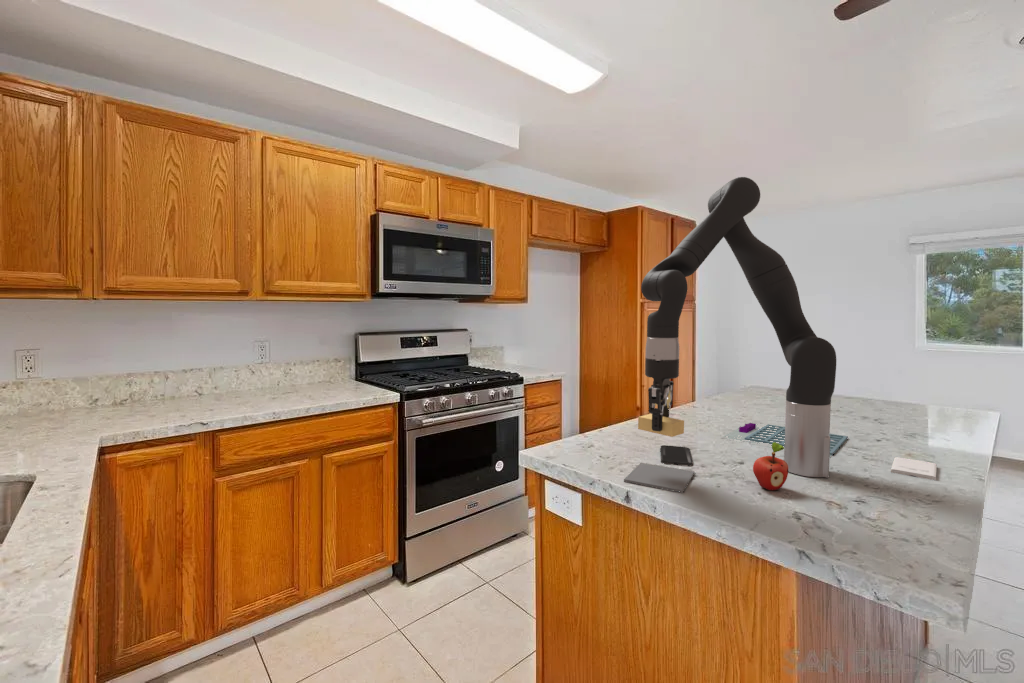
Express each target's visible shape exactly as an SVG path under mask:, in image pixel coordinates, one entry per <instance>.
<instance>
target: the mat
mask: <svg viewBox="0 0 1024 683" xmlns="http://www.w3.org/2000/svg"><path fill="white" fill-rule="evenodd" d="M694 473H695V471H693V470H689V469H688V470H687V469H683V468H675V467H670V466H665V465H660V464H659V465H658V464H652V463H647V462H646V463H645V462H640V463H639V464H638V465H637V466H636V467H635V468H634V469H633V470H632V471H631V472H629V474H628V475H627V476H626V477H624V479H623V482H624V483H628V482H632V483H631V484H633V483H637V484H636V485H638V484H642V485H641V486H643V485H646V486H645V487H649V486H653V487H652V488H654V487H657V488H656V489H659V488H663V489H662V490H664V489H668V490H667V491H670V490H674V491H673V492H675V491H680V492H683V491H685V490H686V489H685V487H686V486H687V487H688V485H689V484H690V482H691V480H692V479H693V478H694V477H693V475H695V474H696V473H695V474H694ZM691 478H692V479H691ZM689 481H690V482H689ZM688 483H689V484H688ZM687 484H688V485H687ZM687 487H686V488H687ZM684 489H685V490H684ZM680 492H679V493H680ZM683 493H684V492H683Z"/></svg>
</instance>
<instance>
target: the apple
mask: <svg viewBox="0 0 1024 683" xmlns="http://www.w3.org/2000/svg"><path fill="white" fill-rule="evenodd" d="M771 446H772V447H771V448H772V452H771V455H765V456H760V457H758V458H756V459H755V461H754V462H753V467H752V472H753V474H754V477H755V479H756V480H757V482H758V485H759V486H760V487H761V488H764V489H766V490H768V491H777V490H781V489H782V488H783V486H784V485H785V483H786V481H787V479H788V476H789V471H788V465H787V463H786V462H785V461H784V459H782V458H779V457H776V453H777V452H780V451H784V450H783V449H784V447H783V446H781V445H780V444H779V443H776V442H773V443H772V445H771Z"/></svg>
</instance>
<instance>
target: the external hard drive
mask: <svg viewBox="0 0 1024 683" xmlns="http://www.w3.org/2000/svg"><path fill="white" fill-rule="evenodd" d="M937 468H938V467H937V463H935V462H928V461H924V460H917V459H911V458H910V459H909V458H904V457H898V456H896V457H894V460H893V462H892V464H891V469H890V473H891V474H897V475H904V476H909V477H916V478H920V479H926V480H930V481H937V470H938V469H937Z"/></svg>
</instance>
